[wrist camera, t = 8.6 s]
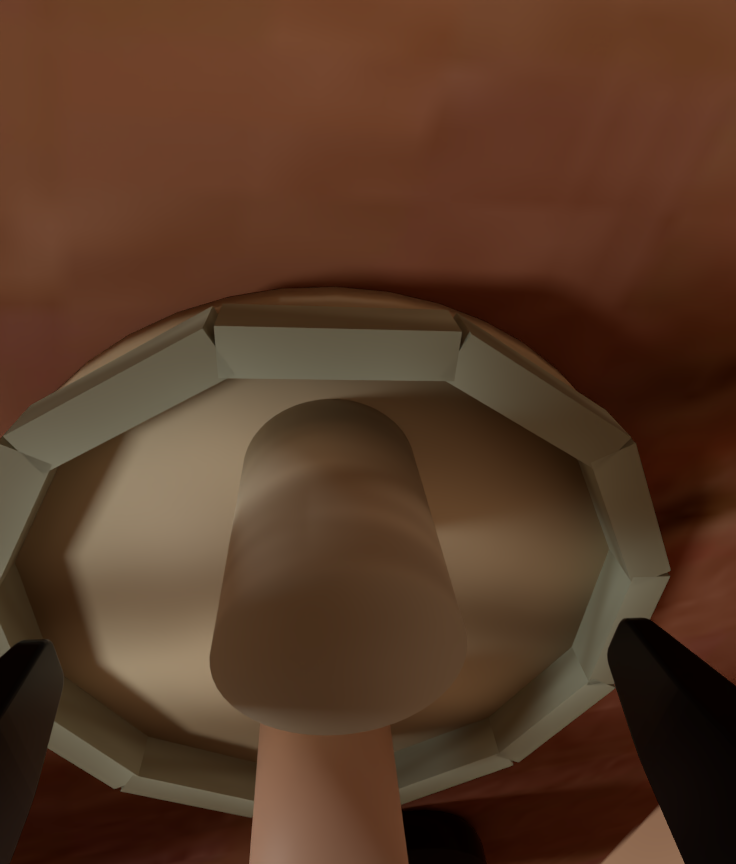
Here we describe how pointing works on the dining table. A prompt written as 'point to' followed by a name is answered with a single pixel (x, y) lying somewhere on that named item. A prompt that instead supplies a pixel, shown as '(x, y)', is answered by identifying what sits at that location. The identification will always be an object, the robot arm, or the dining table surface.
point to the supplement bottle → (441, 839)
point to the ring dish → (215, 507)
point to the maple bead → (334, 578)
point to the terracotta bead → (327, 799)
